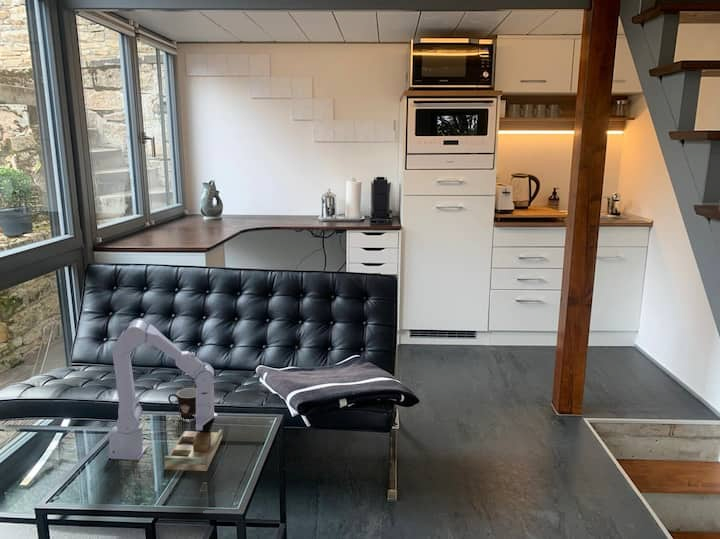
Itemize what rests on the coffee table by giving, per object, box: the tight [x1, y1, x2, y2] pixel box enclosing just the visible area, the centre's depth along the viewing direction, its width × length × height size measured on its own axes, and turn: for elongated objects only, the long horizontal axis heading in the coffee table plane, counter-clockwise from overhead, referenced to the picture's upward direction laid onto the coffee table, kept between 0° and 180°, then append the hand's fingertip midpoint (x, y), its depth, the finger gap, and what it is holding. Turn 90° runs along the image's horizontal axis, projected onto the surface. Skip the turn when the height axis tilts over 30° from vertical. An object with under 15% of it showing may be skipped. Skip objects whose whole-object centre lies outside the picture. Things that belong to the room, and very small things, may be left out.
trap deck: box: [163, 429, 223, 472], centre depth 177 cm, size 13×20×4 cm, turn 0°
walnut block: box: [193, 431, 211, 453], centre depth 176 cm, size 4×4×4 cm
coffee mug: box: [167, 387, 197, 420], centre depth 199 cm, size 12×9×10 cm
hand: (205, 439), depth 180 cm, fingers closed
